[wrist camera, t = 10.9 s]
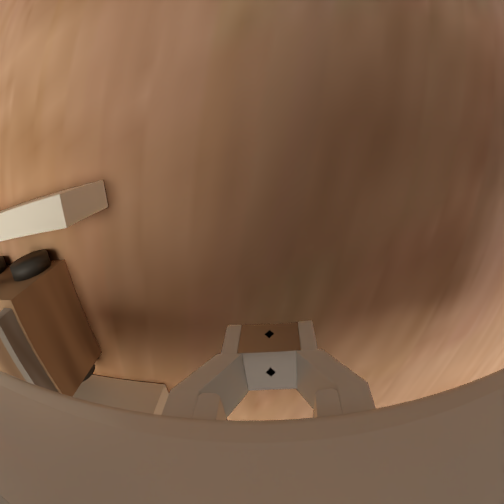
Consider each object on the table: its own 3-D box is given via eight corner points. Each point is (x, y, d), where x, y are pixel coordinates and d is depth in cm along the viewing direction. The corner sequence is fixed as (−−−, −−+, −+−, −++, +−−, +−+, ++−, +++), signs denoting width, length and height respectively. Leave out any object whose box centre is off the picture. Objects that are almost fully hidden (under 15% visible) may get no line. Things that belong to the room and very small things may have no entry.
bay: (103, 179, 10) (59, 194, 8) (170, 396, 15) (157, 434, 12) (-31, 223, 12) (-59, 237, 9) (29, 369, 16) (12, 391, 14)
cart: (61, 246, 12) (-11, 296, 7) (106, 360, 15) (67, 424, 10) (-8, 257, 13) (-60, 292, 8) (31, 347, 15) (-7, 391, 10)
